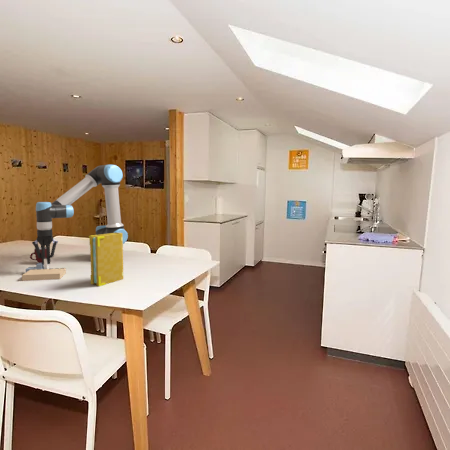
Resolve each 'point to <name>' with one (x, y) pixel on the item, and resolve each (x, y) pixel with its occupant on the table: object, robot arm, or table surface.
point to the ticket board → (44, 274)
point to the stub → (38, 266)
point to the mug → (37, 256)
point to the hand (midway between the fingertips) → (46, 269)
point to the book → (106, 258)
